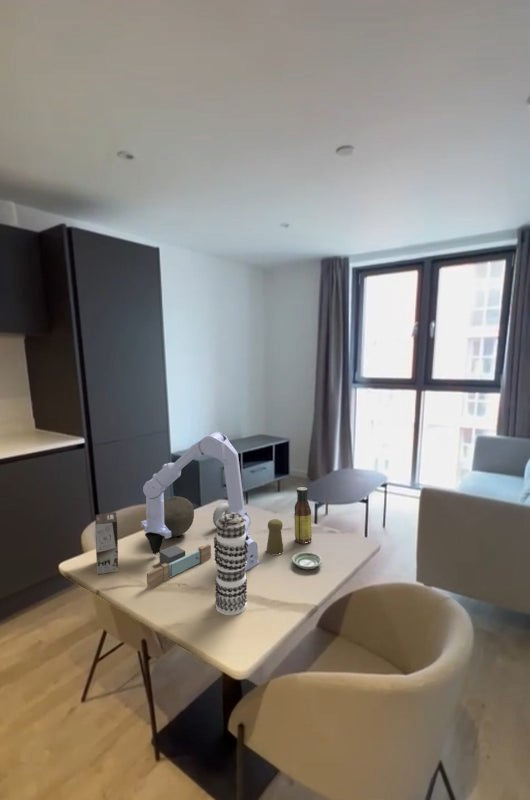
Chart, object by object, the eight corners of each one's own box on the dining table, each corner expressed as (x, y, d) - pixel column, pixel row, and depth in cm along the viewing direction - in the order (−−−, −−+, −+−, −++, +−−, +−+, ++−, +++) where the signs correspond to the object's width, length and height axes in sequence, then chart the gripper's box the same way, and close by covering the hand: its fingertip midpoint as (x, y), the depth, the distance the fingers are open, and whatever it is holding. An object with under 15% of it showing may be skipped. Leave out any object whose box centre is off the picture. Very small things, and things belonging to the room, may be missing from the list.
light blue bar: (201, 563, 126) (201, 551, 126) (170, 579, 117) (170, 566, 116) (197, 562, 127) (197, 549, 127) (166, 577, 118) (166, 564, 117)
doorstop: (185, 562, 127) (185, 551, 127) (169, 569, 123) (169, 557, 123) (175, 556, 131) (175, 545, 131) (159, 562, 127) (159, 551, 127)
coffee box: (118, 571, 122) (117, 521, 120) (96, 575, 119) (94, 524, 118) (117, 557, 130) (116, 511, 129) (97, 561, 128) (95, 514, 126)
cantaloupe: (150, 535, 147) (149, 497, 146) (183, 525, 157) (182, 489, 155) (168, 548, 137) (167, 507, 135) (202, 536, 146) (201, 498, 145)
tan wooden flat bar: (211, 558, 130) (211, 544, 130) (149, 589, 112) (149, 573, 111) (207, 556, 131) (207, 543, 131) (146, 587, 113) (146, 571, 112)
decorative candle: (224, 592, 110) (223, 507, 108) (253, 599, 107) (254, 512, 105) (207, 610, 102) (206, 519, 100) (238, 619, 99) (239, 525, 96)
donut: (217, 532, 150) (216, 507, 149) (210, 530, 152) (210, 505, 151) (234, 524, 158) (234, 501, 157) (228, 522, 160) (228, 499, 159)
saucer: (299, 555, 132) (299, 549, 132) (326, 563, 128) (326, 556, 127) (286, 568, 124) (286, 561, 124) (314, 576, 119) (314, 569, 119)
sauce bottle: (314, 539, 144) (315, 487, 143) (306, 546, 139) (307, 492, 137) (298, 535, 148) (299, 484, 146) (291, 541, 143) (291, 489, 141)
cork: (278, 556, 131) (278, 525, 130) (263, 552, 134) (263, 521, 134) (286, 549, 136) (286, 519, 135) (271, 545, 140) (272, 515, 139)
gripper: (132, 511, 131) (133, 550, 132) (158, 522, 121) (158, 564, 123) (150, 506, 136) (151, 543, 137) (176, 516, 127) (176, 555, 128)
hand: (156, 552), depth 130 cm, fingers closed
